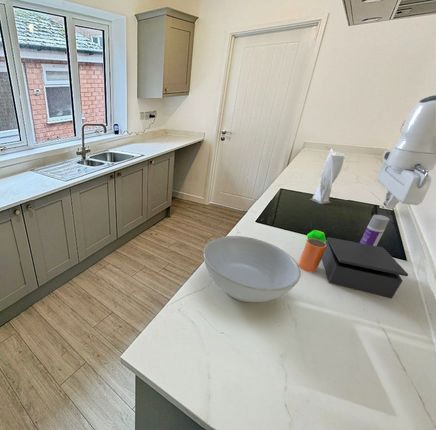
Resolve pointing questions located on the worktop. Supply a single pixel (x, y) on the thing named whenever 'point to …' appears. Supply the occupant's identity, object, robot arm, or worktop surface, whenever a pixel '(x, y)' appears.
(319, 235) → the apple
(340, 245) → the box lid
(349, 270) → the black box
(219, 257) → the decorative bowl
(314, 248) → the cup
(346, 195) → the worktop surface
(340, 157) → the skyscraper
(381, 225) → the container
